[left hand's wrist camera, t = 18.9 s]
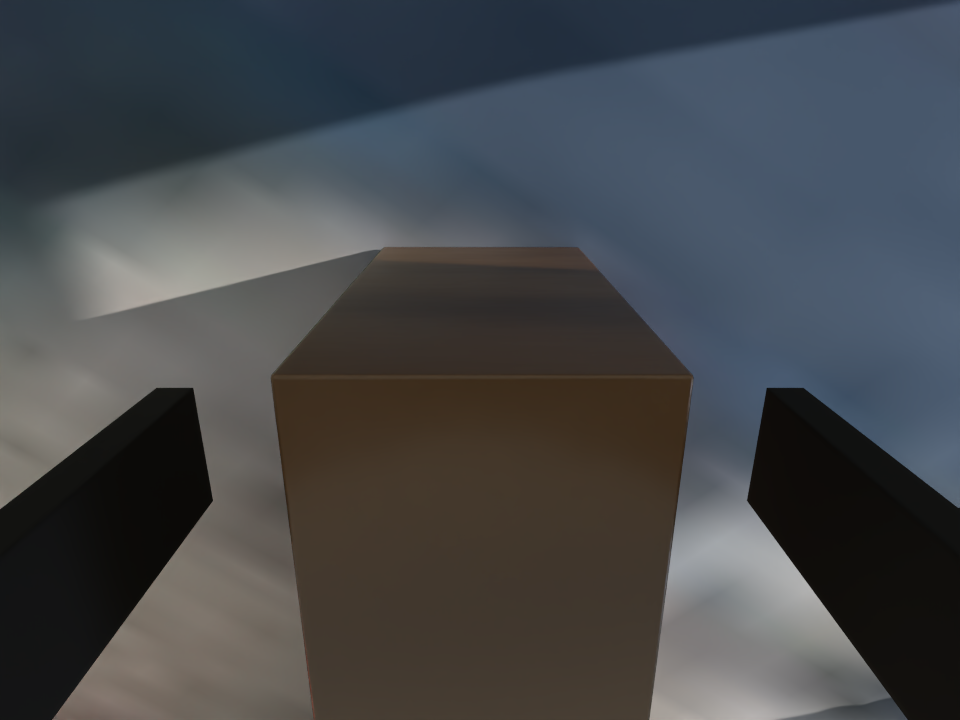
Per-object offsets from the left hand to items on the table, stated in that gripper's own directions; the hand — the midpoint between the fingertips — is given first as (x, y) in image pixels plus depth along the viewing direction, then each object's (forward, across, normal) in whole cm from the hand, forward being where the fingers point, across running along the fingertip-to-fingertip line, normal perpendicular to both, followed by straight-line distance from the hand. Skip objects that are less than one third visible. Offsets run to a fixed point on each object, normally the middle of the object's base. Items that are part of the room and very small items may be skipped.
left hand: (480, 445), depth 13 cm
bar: (+4, 0, -10) cm, 11 cm away
